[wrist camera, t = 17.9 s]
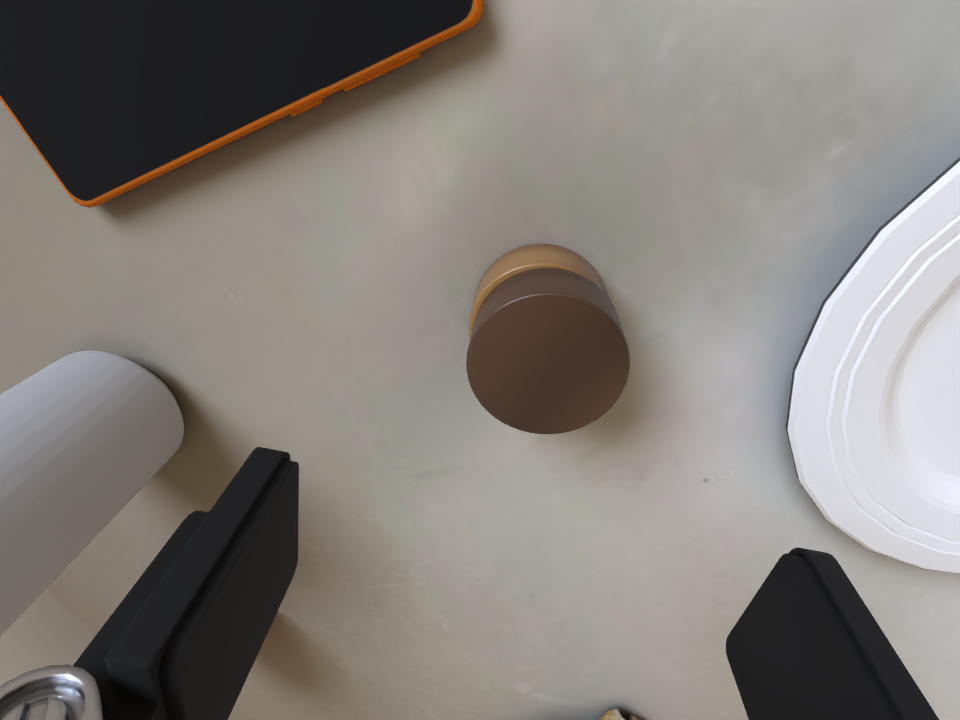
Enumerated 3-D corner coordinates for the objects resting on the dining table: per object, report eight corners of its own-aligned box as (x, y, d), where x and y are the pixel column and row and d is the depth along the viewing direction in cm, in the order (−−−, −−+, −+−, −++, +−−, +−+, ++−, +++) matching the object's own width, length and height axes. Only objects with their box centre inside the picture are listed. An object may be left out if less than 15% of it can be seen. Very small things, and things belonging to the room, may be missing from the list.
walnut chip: (444, 341, 19) (434, 373, 17) (541, 235, 17) (542, 257, 15) (548, 420, 21) (550, 459, 18) (650, 331, 18) (665, 364, 16)
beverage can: (196, 467, 27) (-22, 721, 16) (71, 438, 27) (-232, 676, 16) (190, 361, 24) (-84, 590, 13) (48, 327, 23) (-344, 532, 13)
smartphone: (-59, -6, 17) (-86, -10, 17) (386, -305, 13) (377, -328, 12) (94, 212, 20) (77, 217, 20) (492, 24, 16) (490, 22, 16)
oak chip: (448, 311, 21) (439, 337, 19) (536, 214, 19) (537, 231, 17) (542, 385, 23) (543, 417, 21) (634, 302, 20) (645, 328, 18)
